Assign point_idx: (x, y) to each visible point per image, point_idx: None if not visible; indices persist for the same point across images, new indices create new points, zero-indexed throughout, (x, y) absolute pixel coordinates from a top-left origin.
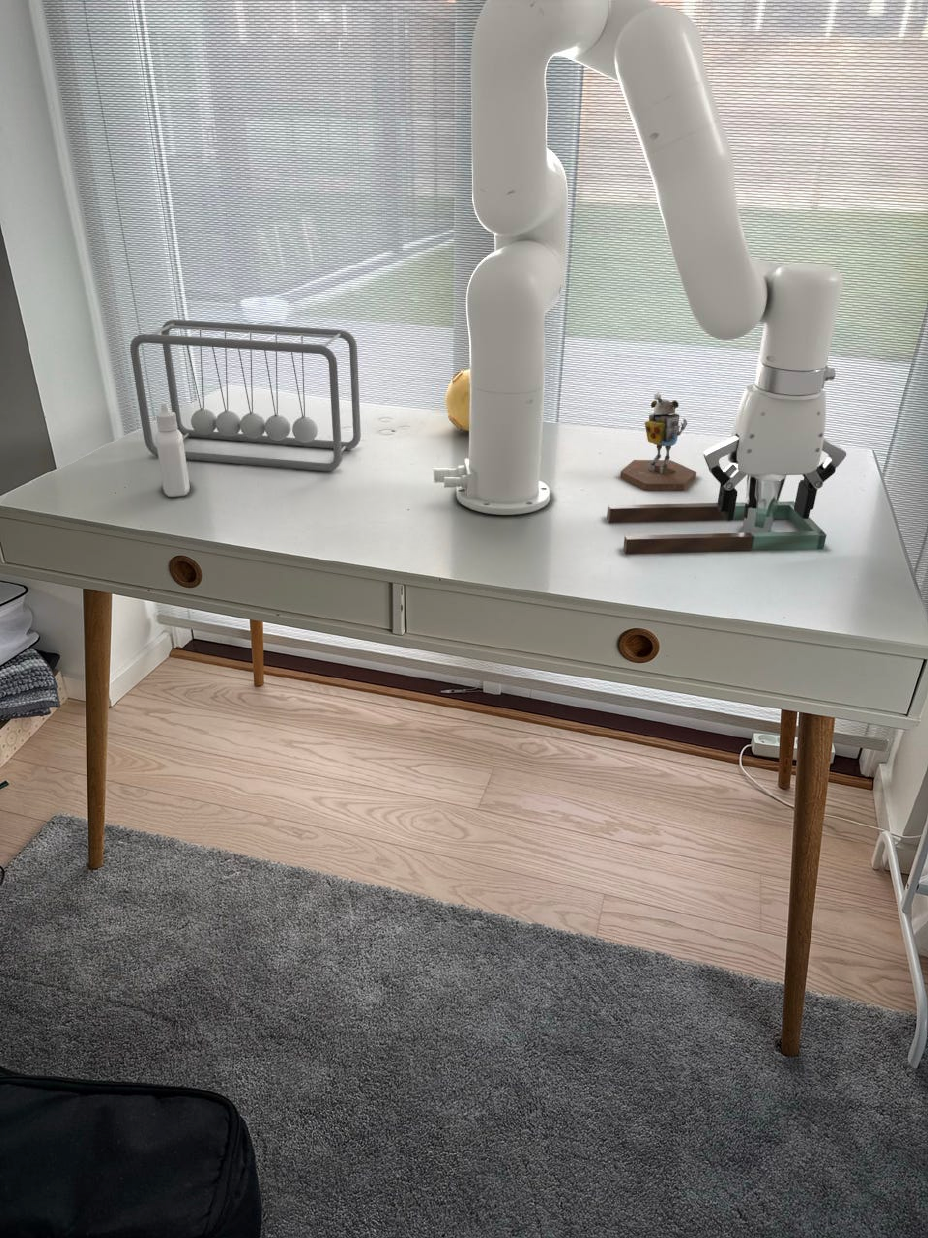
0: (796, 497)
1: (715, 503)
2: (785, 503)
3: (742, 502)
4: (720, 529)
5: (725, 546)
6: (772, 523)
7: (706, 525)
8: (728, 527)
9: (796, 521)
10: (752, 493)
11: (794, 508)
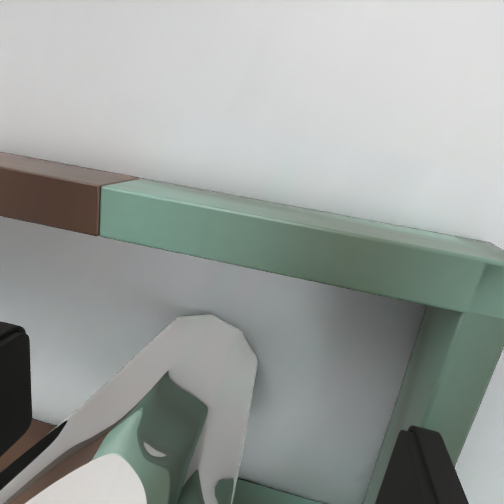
0: (419, 497)
1: (39, 183)
2: (449, 287)
3: (190, 206)
4: (83, 291)
5: None
6: (247, 423)
7: (41, 242)
8: (120, 283)
9: (412, 391)
10: None
11: (402, 436)
